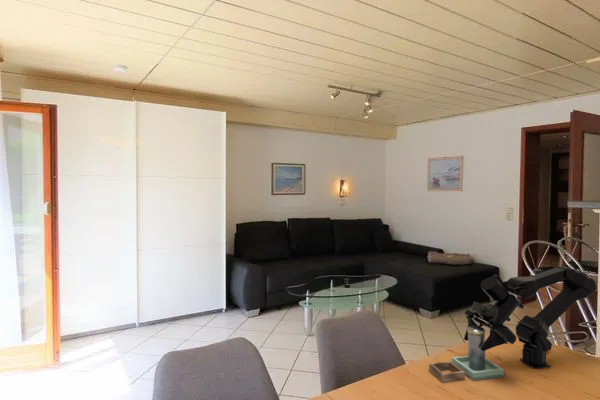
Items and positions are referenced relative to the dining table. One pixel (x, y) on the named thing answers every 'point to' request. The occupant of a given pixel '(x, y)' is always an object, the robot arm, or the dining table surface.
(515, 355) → the dining table surface
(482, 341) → the grey cylindrical piece
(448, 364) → the holder
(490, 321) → the robot arm
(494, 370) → the tray
